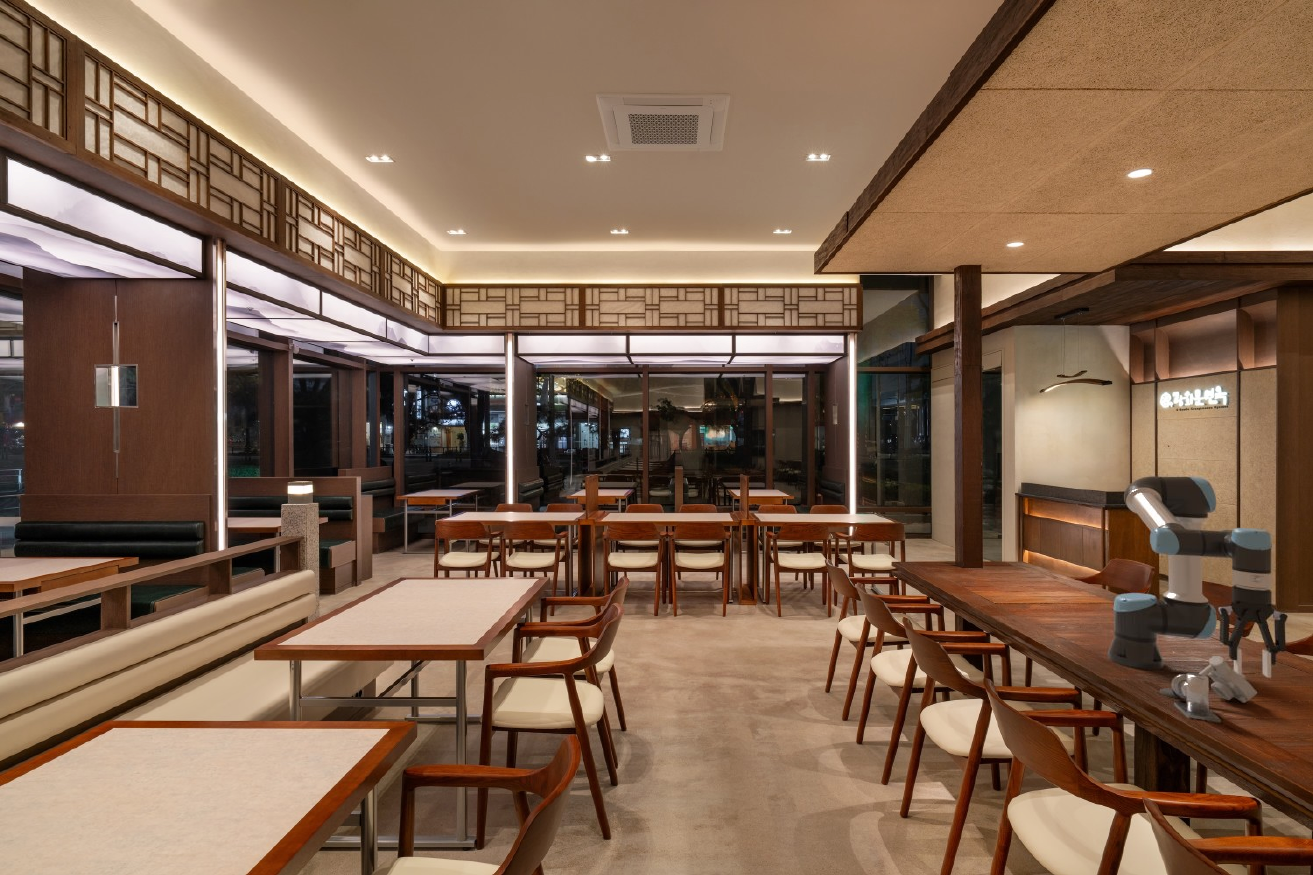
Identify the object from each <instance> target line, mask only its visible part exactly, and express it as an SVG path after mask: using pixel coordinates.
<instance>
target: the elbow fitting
mask: <svg viewBox="0 0 1313 875" xmlns="http://www.w3.org/2000/svg"><path fill="white" fill-rule="evenodd" d="M1209 678H1210V677H1209V676H1208V675H1207V676H1205V675H1202V674H1199V673H1198V672H1187V673H1181V674H1177V675H1175V676H1174V677H1173V678H1172V680H1171V683H1170V684H1171V689H1173V691H1174V692H1175V693H1176V694H1177V695H1178V696H1180V697H1181V698H1184V699H1183V700H1186V702H1180V701H1179V702H1178V701H1174V702H1173V705H1174V707H1176V708H1177V709H1178V710H1179V711H1180V712H1181V713H1182V714H1183V715H1184V716H1185V717H1186V718H1187V719H1190V718H1193V719H1192V720H1197V719H1201V720H1200V721H1205V720H1207V721H1206V722H1212V723H1221V722H1222V721H1221V718H1220V717H1219V716H1217V715H1216V714H1215V713H1214V712H1213V711H1212V710H1210V708H1209V698H1210V697H1209V691H1210V690H1209V686H1210V685H1209V684H1210V683H1209Z"/></svg>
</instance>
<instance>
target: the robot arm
mask: <svg viewBox="0 0 1313 875" xmlns="http://www.w3.org/2000/svg"><path fill="white" fill-rule="evenodd" d="M1123 499H1124V503H1125V505H1126V507H1127V508H1128V510H1130V511H1131V512H1132V513H1134V514H1137V516H1138V517H1139V519H1141V521H1142V522H1143V523H1144V524H1145V526H1146V527H1147V528H1148V529H1149V531H1150V535H1149V544H1150V547H1151V549H1152V551H1153V552H1154V553H1156V554H1161V555H1168V590H1167V591H1166V592H1164V593H1162V599H1158V598H1157V596H1156V595H1153V594H1149V593H1142V592H1129V593H1121V594H1118V595H1117V596H1115V598H1114V601H1113V602H1114V604H1113V622H1114V623H1113V627H1114V628H1113V629H1114V630H1113V639H1112V640H1111V643H1110V645H1109V648H1108V652H1107V657H1108V659H1109V660H1110V661H1111V662H1113V663H1116V664H1118V665H1121V666H1125V667H1128V668H1134V669H1138V670H1147V671H1148V670H1149V671H1150V670H1151V671H1155V670H1156V671H1157V670H1162V669H1163V668H1164V666H1165V665H1164V658H1163V656H1162V653H1161V650H1160V649H1159V648H1160V647H1159V646H1158V640H1157V638H1158V635H1159V636H1160V635H1161V636H1169V637H1179V638H1186V639H1187V638H1188V639H1191V640H1194V639H1200V640H1202V639H1203V640H1206V639H1209V638H1211V637H1212V635H1213V634H1214V633H1215V631H1216V628H1217V624H1218V623H1217V621H1218V615H1217V611H1218V613H1219V615H1220V616H1219V642H1220V643H1222V644H1223V645H1224V646H1228V657H1229V659H1230V660H1231V661H1233V671H1234V672H1236V673H1238V674H1243V673H1242V672H1243V671H1242V668H1243V666H1242V665H1243V664H1242V663H1243V662H1242V658H1243V657H1242V650H1243V649H1241V648H1239V645H1240V642H1241V640H1242V636H1243V634H1244V632H1245V631H1244V630H1245V628H1246V626H1247V625H1248V623H1256V624H1257V625H1258V629H1259V631H1260V635H1261V637H1262V640H1263V643H1264V646H1265V648H1266V649H1262V675H1263V676H1265V677H1266V678H1267V679H1268V678H1269V679H1271V678H1272V665H1273V666H1275V665H1276V664H1277V658H1276V657H1277V654H1278V653H1279V652H1284V653H1285V652H1286V650H1287V646H1286V645H1287V644H1286V643H1287V642H1286V622H1287V620H1288V615H1287V614H1286V613H1284V612H1282V611H1276V610H1274V608H1273V607H1272V606H1273V605H1272V603H1273V601H1272V599H1273V598H1272V595H1273V594H1272V591H1271V589H1272V546H1273V543H1272V537H1271V533H1270V532H1269V531H1268V530H1266V529H1259V528H1252V527H1251V528H1249V527H1235V528H1234V529H1232V530H1231V529H1220V530H1205V529H1203V522H1205V521H1206V520H1208V519H1209V514H1211V513H1214V512H1215V510H1216V508H1217V498H1216V492H1215V490H1214V488H1213V486H1212V484H1211V483H1210V481H1208V480H1207V479H1206V478H1203V477H1194V476H1155V475H1154V476H1150V475H1149V476H1144V477H1141V478H1138V479H1135V480H1134V481H1133V482H1131V483H1130V484H1129V485H1128V486H1127V487H1126V489H1125V490H1124V494H1123ZM1203 557H1205V558H1207V557H1208V558H1223V559H1231V570H1232V571H1231V579H1232V580H1231V584H1233V586H1232V587H1231V595H1232V596H1231V597H1232V601H1231V603H1230V605H1228V606H1218V607H1217V611H1216V608H1215V607H1214V605H1212V604H1210V603H1209V599H1208V598H1207V597H1205V595H1204V594H1203ZM1232 612H1233V613H1234V614H1235V615H1236V618H1235V623H1234V626H1233V628H1232V632H1231V635H1230V622H1231V621H1230V615H1232ZM1271 616H1272V617H1273V619H1274V622H1273V623H1274V625H1273V626H1274V640H1273V637H1272V634H1271V630H1270V629H1269V624H1268V621H1267V620H1268V619H1269V618H1270V617H1271Z"/></svg>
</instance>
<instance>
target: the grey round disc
mask: <svg viewBox="0 0 1313 875" xmlns="http://www.w3.org/2000/svg"><path fill="white" fill-rule="evenodd" d="M1159 693H1160V694H1161V695H1162V696H1165V697H1168V698H1172V699H1177V700H1178V699H1179V700H1181V699H1180V698H1178V697H1177V696H1175V695H1174V693H1173V691H1172V688H1159Z"/></svg>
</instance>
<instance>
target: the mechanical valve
mask: <svg viewBox="0 0 1313 875" xmlns="http://www.w3.org/2000/svg"><path fill="white" fill-rule="evenodd" d="M1208 663H1209V665H1207V666H1206V667H1204V668H1203V670H1201V671H1200V672H1199V673H1198V674H1202V675H1205V676H1207V677H1208V678H1211V680H1212V681H1213V682H1212V683H1211V684H1210V687H1211V689H1212V690H1213V691H1214V692H1215V693H1216V694H1217V695H1218V696H1219V697H1221V698H1223V699H1225V700H1227V701H1231V699H1233V698H1235V699H1237V700H1238V701H1239V702H1240V703H1243V704H1245V703H1246V702H1248V701H1249V700H1251V699H1253V697H1255V696H1256V695H1257V694H1258V692H1257V690H1256V689H1254V687H1253V686H1252V685H1251V683H1250V682H1249V681H1247V680H1246V678H1247V677H1246V675H1244V674H1243V673H1242V674H1238V673H1236V672H1235V671H1234V669H1231V667H1230V665H1229V664H1228V663H1227V662H1226V661H1225V659H1224V658H1223V657H1222V656H1219V655H1213V656H1211V657H1210V658H1209V659H1208ZM1171 689H1172V688H1171ZM1172 691H1173V689H1172ZM1173 693H1174V695H1175V696H1177V697H1178V698H1180V699H1179V700H1185V699H1184V698H1181V697H1180V696H1178V695H1177V694H1176V693H1175V692H1174V691H1173Z"/></svg>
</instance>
